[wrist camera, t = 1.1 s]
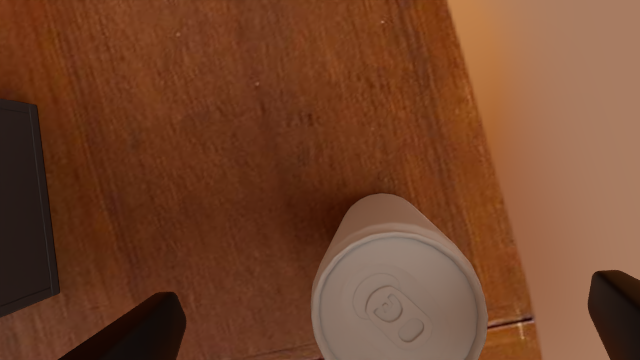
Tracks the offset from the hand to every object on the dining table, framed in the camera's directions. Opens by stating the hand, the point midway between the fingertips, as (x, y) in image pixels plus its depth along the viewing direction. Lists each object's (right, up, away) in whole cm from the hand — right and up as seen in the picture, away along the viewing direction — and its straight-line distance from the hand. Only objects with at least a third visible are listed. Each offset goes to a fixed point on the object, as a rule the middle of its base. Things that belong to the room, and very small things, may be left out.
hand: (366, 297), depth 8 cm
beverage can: (+3, -1, +14) cm, 14 cm away
